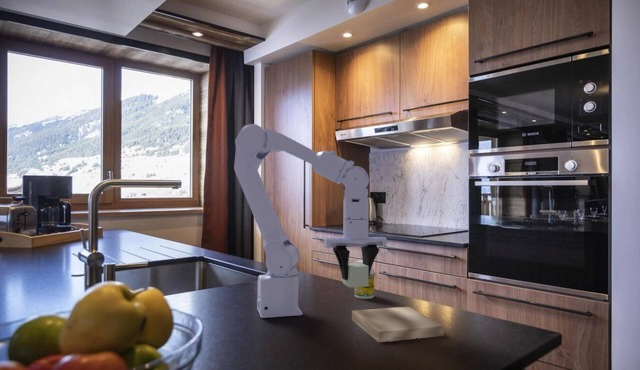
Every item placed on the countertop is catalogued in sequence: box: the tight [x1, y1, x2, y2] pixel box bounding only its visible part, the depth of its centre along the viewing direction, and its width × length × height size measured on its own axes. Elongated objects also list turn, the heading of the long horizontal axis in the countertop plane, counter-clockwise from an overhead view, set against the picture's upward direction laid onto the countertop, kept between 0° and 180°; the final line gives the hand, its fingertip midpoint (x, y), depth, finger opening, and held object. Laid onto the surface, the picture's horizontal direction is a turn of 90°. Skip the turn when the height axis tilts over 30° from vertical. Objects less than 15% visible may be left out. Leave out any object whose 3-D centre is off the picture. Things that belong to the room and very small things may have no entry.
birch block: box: [351, 306, 445, 343], centre depth 87 cm, size 14×14×2 cm
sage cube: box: [342, 262, 369, 288], centre depth 94 cm, size 4×4×4 cm
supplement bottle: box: [354, 259, 375, 300], centre depth 111 cm, size 5×5×10 cm
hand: (355, 278), depth 94 cm, fingers closed on sage cube, 4 cm apart
